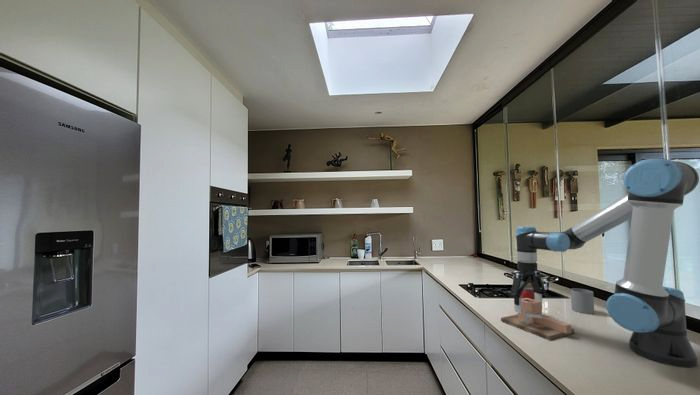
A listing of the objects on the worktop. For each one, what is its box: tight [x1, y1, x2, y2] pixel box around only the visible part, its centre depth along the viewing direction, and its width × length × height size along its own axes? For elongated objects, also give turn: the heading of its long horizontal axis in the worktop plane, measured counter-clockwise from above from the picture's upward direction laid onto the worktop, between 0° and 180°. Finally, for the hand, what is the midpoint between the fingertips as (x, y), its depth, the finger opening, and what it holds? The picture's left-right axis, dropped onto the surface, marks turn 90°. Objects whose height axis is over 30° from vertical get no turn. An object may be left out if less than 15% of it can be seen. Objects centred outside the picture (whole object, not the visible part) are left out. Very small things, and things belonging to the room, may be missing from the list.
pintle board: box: [500, 313, 575, 341], centre depth 115 cm, size 20×16×8 cm
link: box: [517, 298, 572, 334], centre depth 114 cm, size 18×6×8 cm, turn 24°
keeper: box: [524, 311, 543, 326], centre depth 112 cm, size 3×5×7 cm, turn 68°
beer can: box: [520, 285, 535, 300], centre depth 132 cm, size 7×7×12 cm
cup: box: [570, 287, 595, 315], centre depth 135 cm, size 8×8×10 cm
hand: (528, 310), depth 120 cm, fingers open, 13 cm apart
